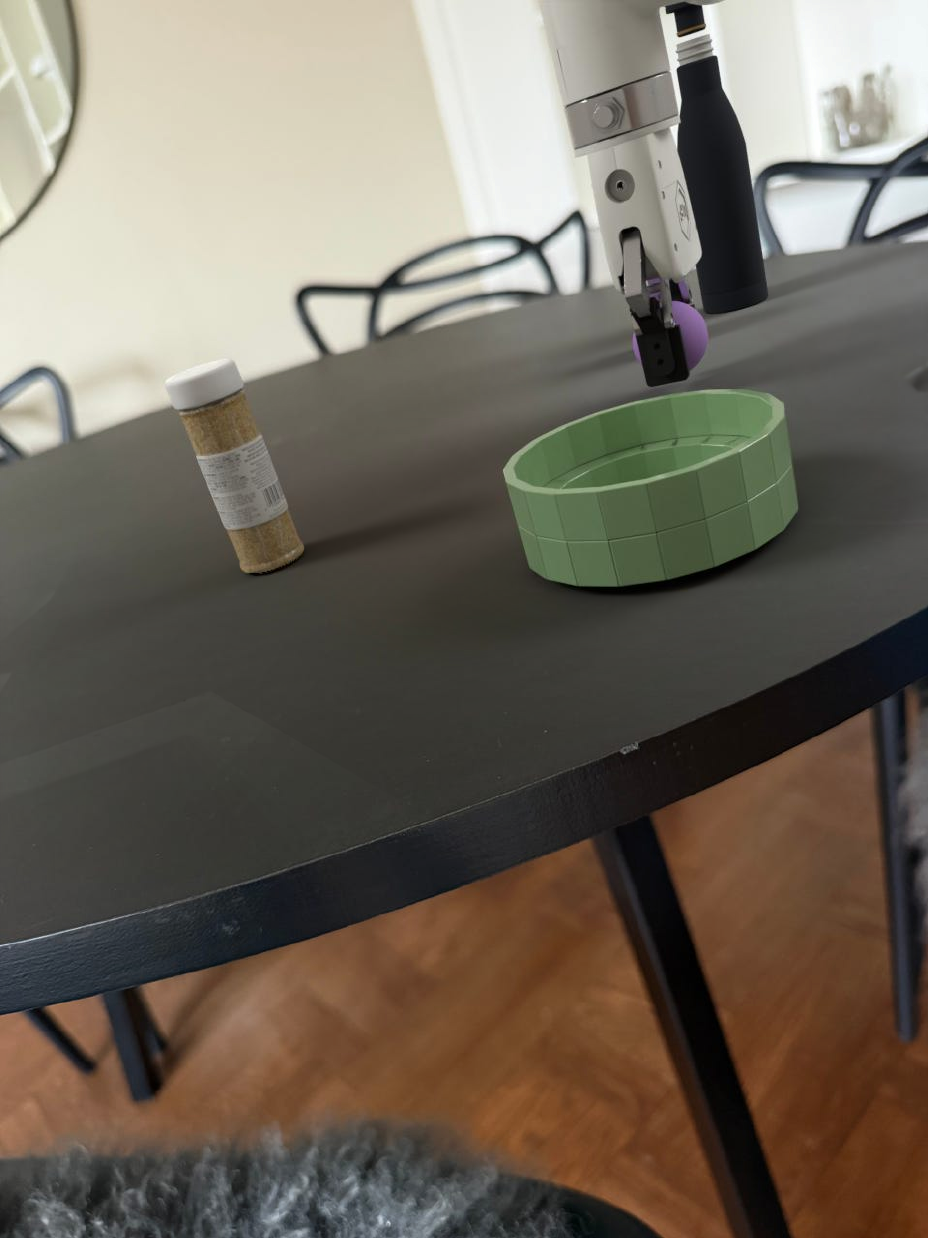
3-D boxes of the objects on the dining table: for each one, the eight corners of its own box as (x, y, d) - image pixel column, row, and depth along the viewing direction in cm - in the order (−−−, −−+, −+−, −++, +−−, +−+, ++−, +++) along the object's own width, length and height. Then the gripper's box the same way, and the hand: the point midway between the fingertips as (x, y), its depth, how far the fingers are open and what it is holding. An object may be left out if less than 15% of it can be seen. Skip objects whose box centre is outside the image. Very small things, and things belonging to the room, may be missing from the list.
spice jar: (273, 547, 70) (200, 361, 64) (319, 546, 67) (247, 351, 62) (228, 577, 67) (147, 384, 61) (275, 577, 64) (195, 375, 59)
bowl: (649, 475, 61) (631, 389, 59) (857, 492, 50) (844, 387, 48) (478, 574, 55) (450, 481, 53) (674, 619, 44) (649, 504, 41)
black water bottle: (745, 310, 96) (688, -43, 84) (691, 316, 101) (630, -18, 89) (781, 291, 100) (732, -52, 87) (727, 297, 104) (673, -27, 92)
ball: (673, 364, 80) (659, 294, 78) (729, 361, 75) (715, 287, 73) (627, 389, 77) (610, 317, 75) (681, 387, 73) (665, 311, 71)
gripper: (649, 110, 60) (707, 395, 68) (696, 93, 74) (740, 331, 81) (536, 148, 64) (603, 415, 71) (601, 125, 78) (651, 351, 85)
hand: (676, 368), depth 76 cm, fingers closed on ball, 5 cm apart
